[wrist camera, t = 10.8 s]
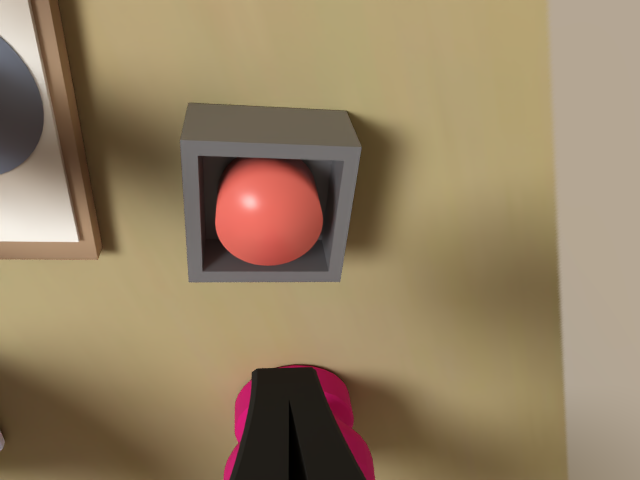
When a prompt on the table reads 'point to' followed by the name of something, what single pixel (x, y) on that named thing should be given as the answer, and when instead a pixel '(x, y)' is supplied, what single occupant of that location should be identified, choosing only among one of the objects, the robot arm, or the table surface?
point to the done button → (268, 210)
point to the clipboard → (41, 142)
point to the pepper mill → (339, 407)
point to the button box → (267, 142)
